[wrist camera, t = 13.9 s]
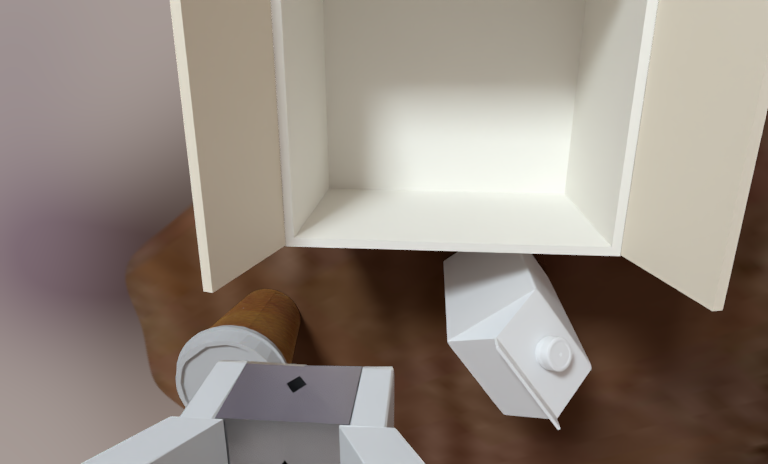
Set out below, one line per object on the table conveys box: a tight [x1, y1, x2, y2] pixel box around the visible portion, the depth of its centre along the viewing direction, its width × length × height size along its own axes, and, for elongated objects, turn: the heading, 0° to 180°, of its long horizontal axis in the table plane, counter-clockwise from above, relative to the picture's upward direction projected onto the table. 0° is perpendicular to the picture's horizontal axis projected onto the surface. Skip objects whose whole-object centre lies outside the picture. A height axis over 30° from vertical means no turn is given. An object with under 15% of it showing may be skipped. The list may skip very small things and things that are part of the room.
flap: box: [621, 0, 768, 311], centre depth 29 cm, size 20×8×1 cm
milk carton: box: [443, 251, 591, 430], centre depth 43 cm, size 7×7×19 cm
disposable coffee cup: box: [176, 289, 300, 407], centre depth 50 cm, size 10×10×12 cm
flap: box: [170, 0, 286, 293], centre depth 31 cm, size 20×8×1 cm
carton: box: [271, 0, 658, 256], centre depth 40 cm, size 20×22×14 cm
